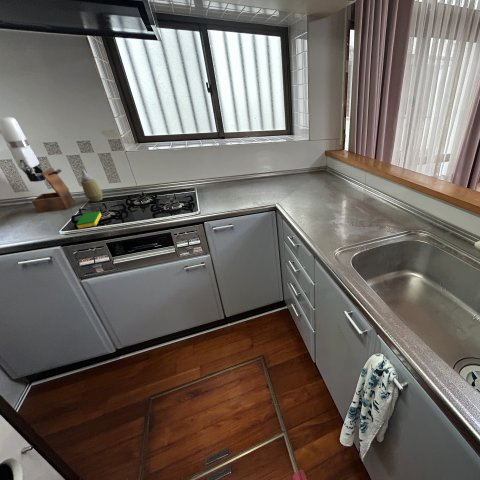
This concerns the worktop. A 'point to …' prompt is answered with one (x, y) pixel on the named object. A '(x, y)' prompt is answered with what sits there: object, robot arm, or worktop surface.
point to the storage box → (52, 202)
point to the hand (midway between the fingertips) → (38, 178)
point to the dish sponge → (89, 219)
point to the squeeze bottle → (91, 188)
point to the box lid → (55, 181)
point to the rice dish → (39, 177)
